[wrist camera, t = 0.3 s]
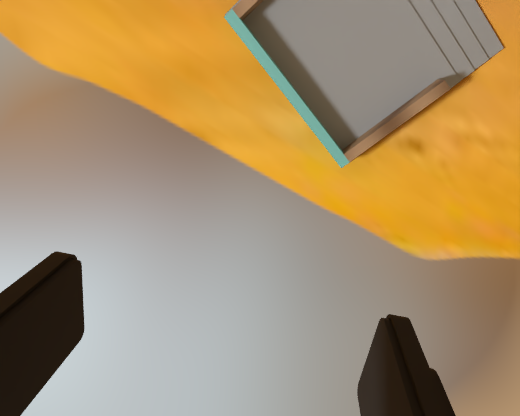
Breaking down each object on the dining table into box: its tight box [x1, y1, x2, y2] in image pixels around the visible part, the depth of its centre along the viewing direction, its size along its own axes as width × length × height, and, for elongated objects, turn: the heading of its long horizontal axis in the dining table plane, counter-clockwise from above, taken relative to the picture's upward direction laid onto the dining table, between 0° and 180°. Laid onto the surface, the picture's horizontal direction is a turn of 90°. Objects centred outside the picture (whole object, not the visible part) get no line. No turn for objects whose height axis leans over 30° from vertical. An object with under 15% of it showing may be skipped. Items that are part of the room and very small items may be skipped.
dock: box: [224, 0, 503, 168], centre depth 34 cm, size 18×19×3 cm
